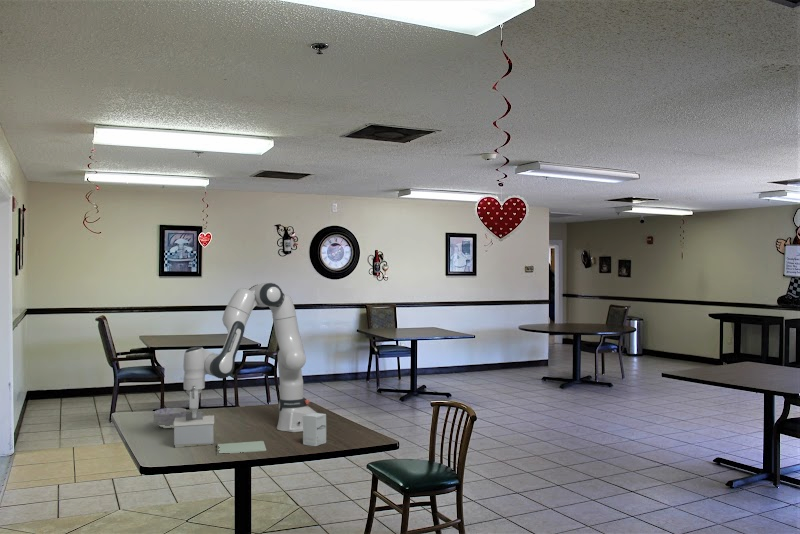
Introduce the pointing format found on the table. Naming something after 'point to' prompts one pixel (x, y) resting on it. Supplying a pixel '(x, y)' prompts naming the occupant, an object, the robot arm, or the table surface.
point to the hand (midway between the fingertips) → (194, 416)
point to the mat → (242, 447)
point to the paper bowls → (168, 415)
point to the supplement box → (314, 429)
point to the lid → (194, 419)
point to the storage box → (194, 434)
